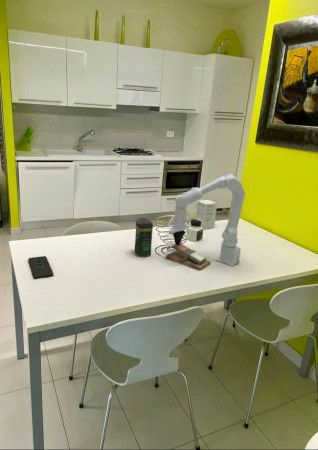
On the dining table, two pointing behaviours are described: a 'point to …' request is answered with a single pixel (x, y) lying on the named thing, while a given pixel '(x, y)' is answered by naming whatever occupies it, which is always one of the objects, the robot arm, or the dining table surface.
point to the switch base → (187, 260)
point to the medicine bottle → (195, 230)
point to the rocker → (189, 253)
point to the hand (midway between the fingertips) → (177, 244)
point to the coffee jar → (143, 237)
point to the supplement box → (206, 213)
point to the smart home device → (40, 267)
